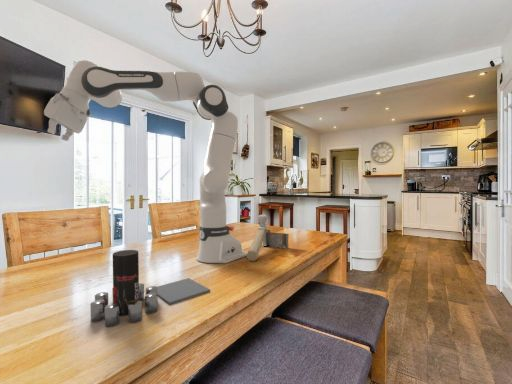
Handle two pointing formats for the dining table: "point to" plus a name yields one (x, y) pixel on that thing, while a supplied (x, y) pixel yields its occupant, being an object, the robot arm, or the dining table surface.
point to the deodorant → (125, 279)
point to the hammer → (258, 239)
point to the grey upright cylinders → (111, 312)
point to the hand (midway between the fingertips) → (57, 136)
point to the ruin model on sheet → (277, 239)
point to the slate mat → (180, 290)
